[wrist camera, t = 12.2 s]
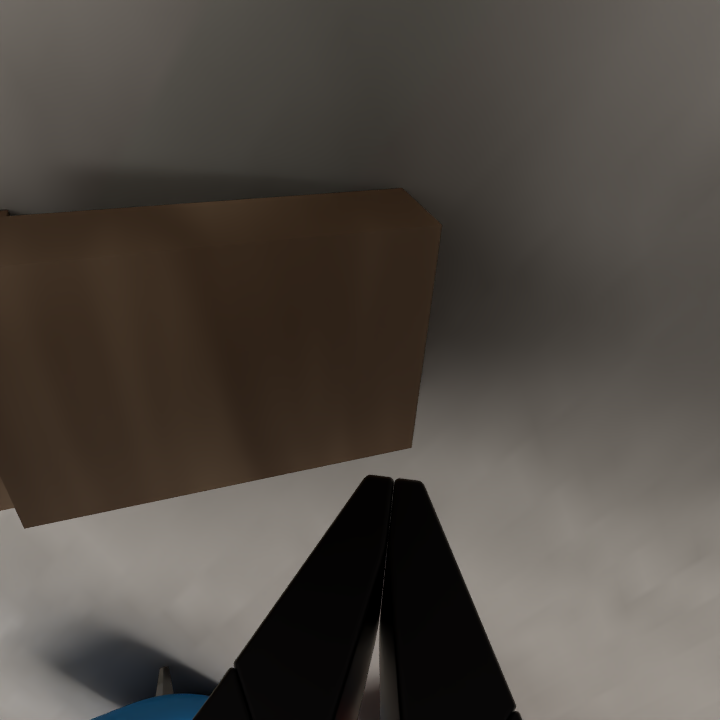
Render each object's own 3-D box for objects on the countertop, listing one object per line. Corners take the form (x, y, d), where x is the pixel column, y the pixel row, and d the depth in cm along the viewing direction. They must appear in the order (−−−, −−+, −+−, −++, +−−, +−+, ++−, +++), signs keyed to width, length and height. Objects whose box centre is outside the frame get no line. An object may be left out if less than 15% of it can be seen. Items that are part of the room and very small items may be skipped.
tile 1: (442, 225, 9) (-94, 275, 7) (411, 447, 11) (24, 528, 9) (401, 188, 10) (-61, 221, 8) (383, 396, 12) (35, 459, 11)
